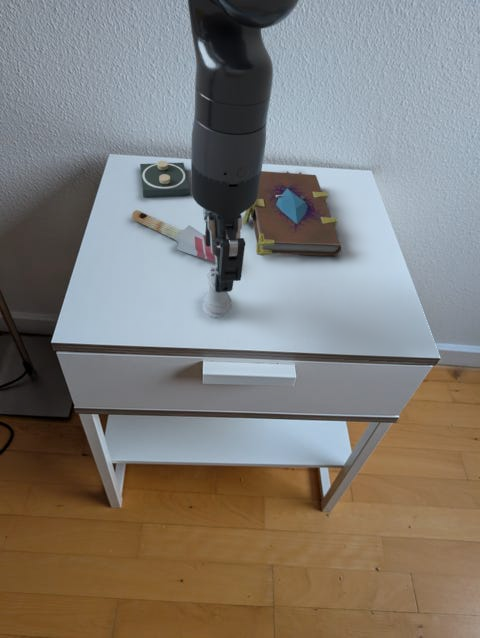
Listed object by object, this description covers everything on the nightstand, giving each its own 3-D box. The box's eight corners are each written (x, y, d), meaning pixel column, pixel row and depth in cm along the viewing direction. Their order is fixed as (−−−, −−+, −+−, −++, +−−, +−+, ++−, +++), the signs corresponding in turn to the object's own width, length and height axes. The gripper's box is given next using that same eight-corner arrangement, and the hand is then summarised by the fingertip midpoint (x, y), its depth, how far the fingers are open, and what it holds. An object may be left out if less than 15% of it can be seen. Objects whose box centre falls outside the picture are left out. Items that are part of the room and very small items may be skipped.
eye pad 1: (157, 170, 81) (157, 166, 81) (157, 164, 82) (156, 160, 82) (168, 170, 82) (168, 166, 81) (167, 164, 83) (167, 160, 82)
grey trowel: (225, 261, 66) (126, 213, 72) (224, 273, 68) (129, 226, 74) (238, 247, 68) (142, 202, 74) (237, 260, 71) (144, 215, 77)
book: (310, 177, 89) (317, 155, 85) (338, 262, 74) (348, 240, 70) (232, 171, 86) (236, 149, 82) (246, 259, 71) (251, 236, 67)
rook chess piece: (214, 291, 67) (216, 254, 60) (237, 305, 65) (242, 269, 59) (195, 308, 64) (196, 272, 58) (219, 324, 63) (222, 288, 56)
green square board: (143, 197, 79) (142, 189, 78) (140, 170, 84) (140, 163, 82) (188, 195, 80) (188, 187, 79) (183, 169, 85) (183, 161, 84)
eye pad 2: (159, 184, 79) (159, 180, 78) (159, 177, 80) (158, 174, 79) (170, 184, 79) (170, 180, 78) (169, 177, 80) (169, 173, 79)
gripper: (183, 122, 48) (183, 232, 61) (201, 202, 40) (197, 310, 53) (248, 122, 50) (235, 229, 63) (278, 199, 41) (256, 304, 54)
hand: (217, 266), depth 58 cm, fingers open, 8 cm apart
